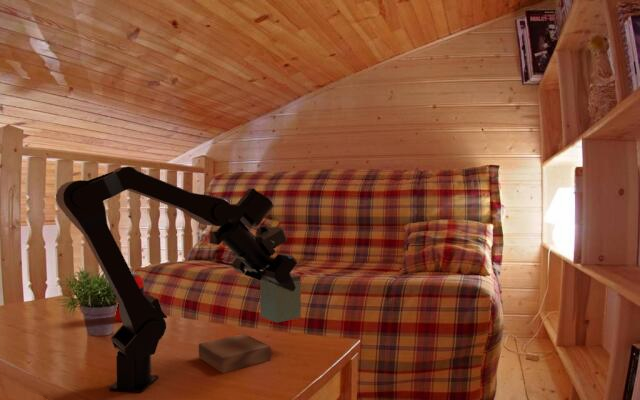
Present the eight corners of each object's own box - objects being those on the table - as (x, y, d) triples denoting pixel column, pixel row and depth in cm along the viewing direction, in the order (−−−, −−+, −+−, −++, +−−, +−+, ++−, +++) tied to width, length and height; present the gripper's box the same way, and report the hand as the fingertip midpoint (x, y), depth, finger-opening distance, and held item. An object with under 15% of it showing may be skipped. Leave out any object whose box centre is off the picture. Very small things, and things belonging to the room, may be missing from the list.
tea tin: (276, 322, 100) (276, 279, 100) (260, 316, 106) (260, 275, 105) (300, 317, 105) (300, 275, 104) (284, 311, 110) (284, 272, 110)
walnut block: (222, 373, 90) (222, 358, 90) (198, 357, 98) (198, 343, 98) (270, 360, 97) (270, 346, 97) (244, 346, 105) (244, 333, 105)
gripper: (289, 216, 95) (330, 265, 102) (244, 214, 110) (283, 256, 117) (256, 258, 90) (301, 305, 97) (214, 249, 105) (256, 291, 112)
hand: (285, 287), depth 106 cm, fingers closed on tea tin, 7 cm apart
